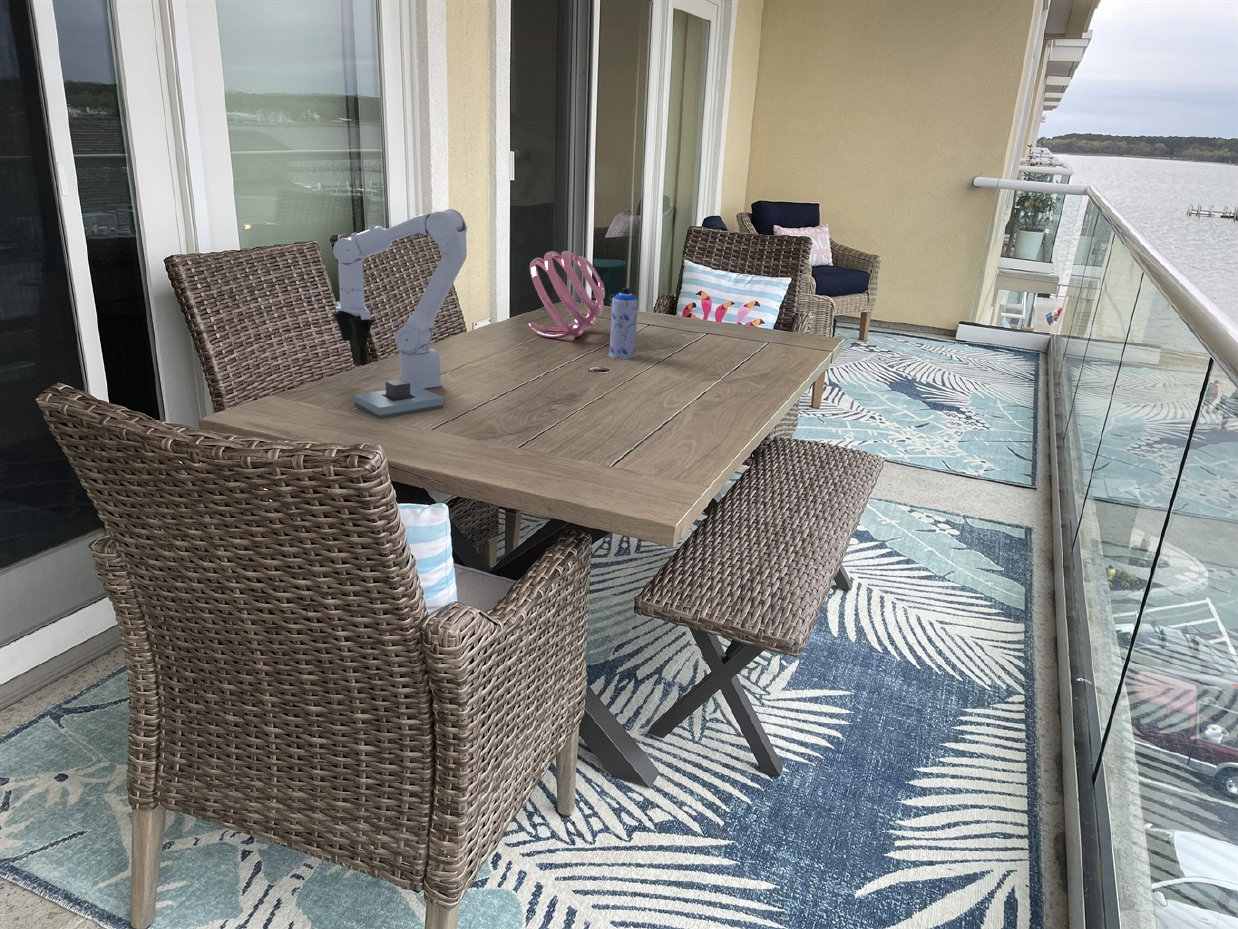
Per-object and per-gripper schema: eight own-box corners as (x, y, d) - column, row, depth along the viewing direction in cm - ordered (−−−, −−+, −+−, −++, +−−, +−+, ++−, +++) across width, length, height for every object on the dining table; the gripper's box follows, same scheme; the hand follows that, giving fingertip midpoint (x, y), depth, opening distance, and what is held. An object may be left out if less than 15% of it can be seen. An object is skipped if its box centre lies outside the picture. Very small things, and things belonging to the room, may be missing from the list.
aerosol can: (639, 358, 266) (643, 290, 259) (614, 359, 263) (618, 290, 256) (629, 352, 272) (633, 286, 266) (604, 353, 270) (608, 286, 263)
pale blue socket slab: (417, 395, 216) (416, 385, 215) (443, 407, 207) (443, 397, 207) (354, 405, 206) (354, 394, 205) (379, 418, 197) (379, 407, 196)
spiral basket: (488, 273, 277) (562, 227, 270) (522, 283, 304) (590, 242, 296) (528, 353, 275) (604, 309, 268) (559, 356, 302) (628, 317, 295)
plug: (402, 400, 209) (401, 379, 207) (410, 404, 206) (410, 383, 204) (386, 402, 206) (385, 381, 205) (394, 406, 204) (393, 385, 202)
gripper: (323, 284, 220) (326, 339, 225) (349, 294, 210) (352, 350, 215) (350, 283, 225) (352, 336, 230) (377, 292, 215) (379, 347, 220)
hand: (354, 343), depth 223 cm, fingers open, 7 cm apart
